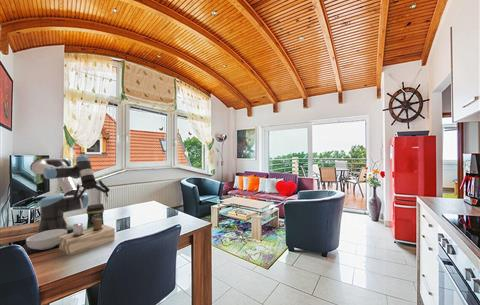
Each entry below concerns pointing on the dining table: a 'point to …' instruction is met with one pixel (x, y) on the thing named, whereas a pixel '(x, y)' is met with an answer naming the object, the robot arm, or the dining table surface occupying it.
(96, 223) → the walnut peg
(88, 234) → the birch block
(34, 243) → the cereal bowl
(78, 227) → the metal peg
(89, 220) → the coffee jar
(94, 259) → the dining table surface
